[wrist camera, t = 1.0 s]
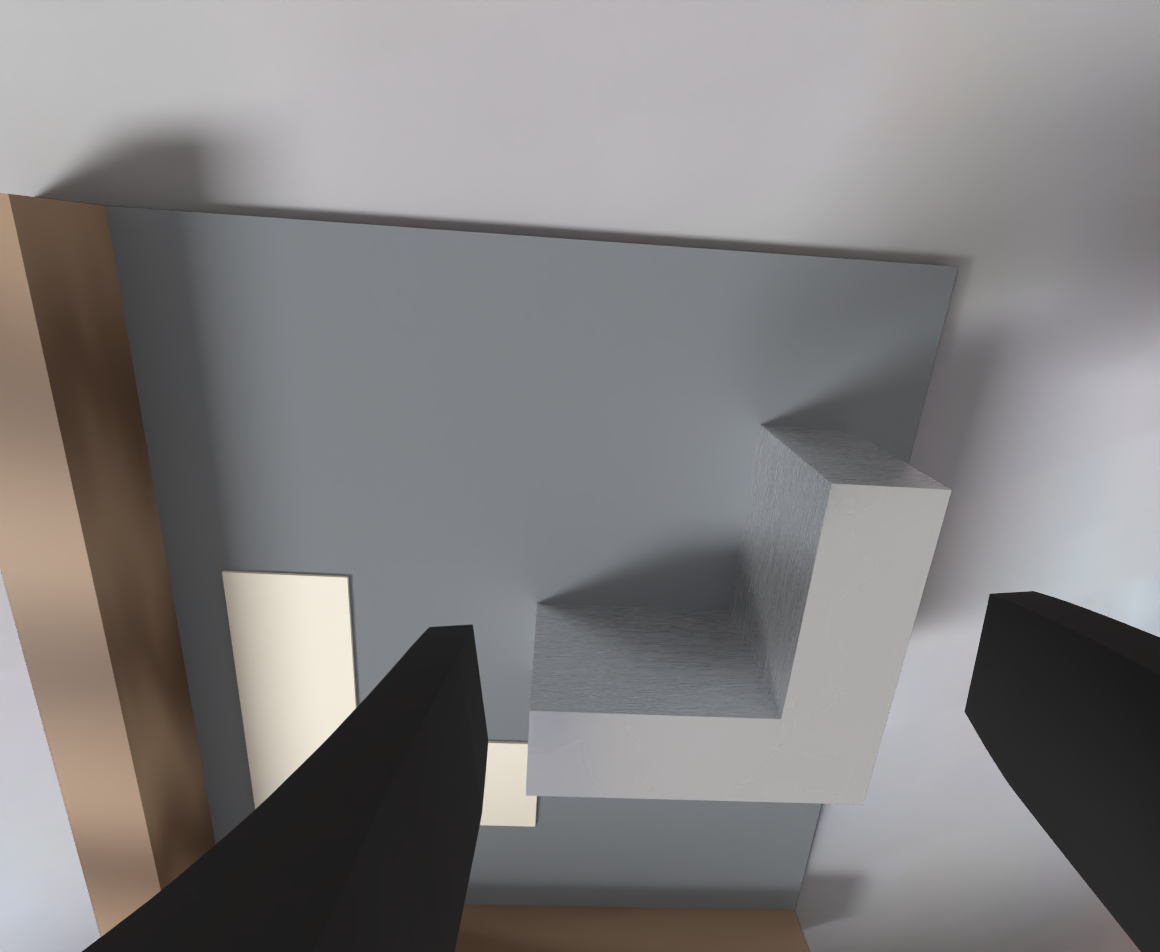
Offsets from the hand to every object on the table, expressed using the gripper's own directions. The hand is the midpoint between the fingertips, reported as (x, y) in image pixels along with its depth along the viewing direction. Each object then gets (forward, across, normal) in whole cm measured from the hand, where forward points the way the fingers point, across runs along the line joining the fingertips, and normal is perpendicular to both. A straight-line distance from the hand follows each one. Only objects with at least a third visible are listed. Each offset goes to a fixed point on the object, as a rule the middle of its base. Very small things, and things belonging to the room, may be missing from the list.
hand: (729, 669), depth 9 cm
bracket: (+8, -1, +3) cm, 9 cm away
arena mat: (+8, +5, +6) cm, 11 cm away
